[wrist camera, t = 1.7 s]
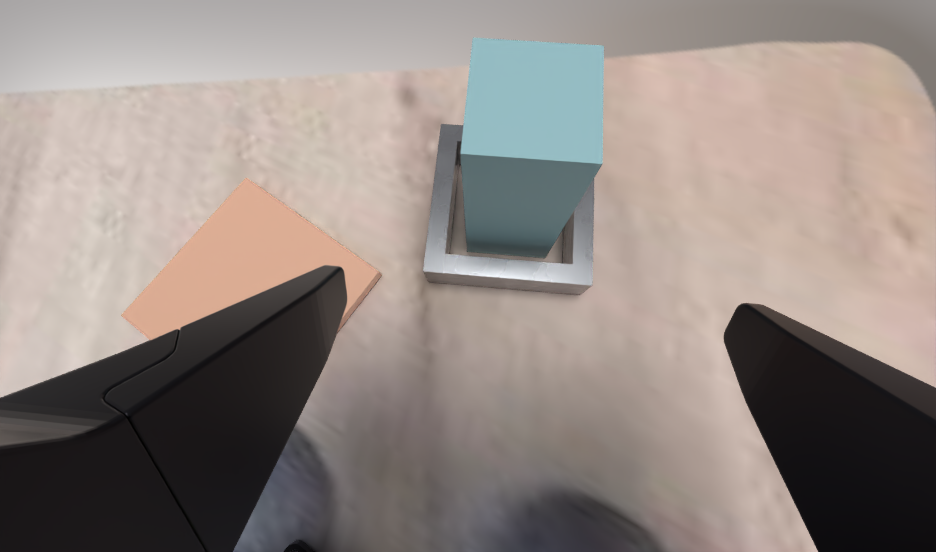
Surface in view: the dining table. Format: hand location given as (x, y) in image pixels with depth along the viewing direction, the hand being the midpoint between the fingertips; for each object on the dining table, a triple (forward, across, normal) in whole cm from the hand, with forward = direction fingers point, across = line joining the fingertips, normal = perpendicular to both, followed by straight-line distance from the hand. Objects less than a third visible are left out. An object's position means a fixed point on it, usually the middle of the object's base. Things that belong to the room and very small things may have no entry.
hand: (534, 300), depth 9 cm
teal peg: (+14, 0, +4) cm, 15 cm away
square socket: (+14, 0, +4) cm, 15 cm away
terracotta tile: (+10, +14, +8) cm, 19 cm away
